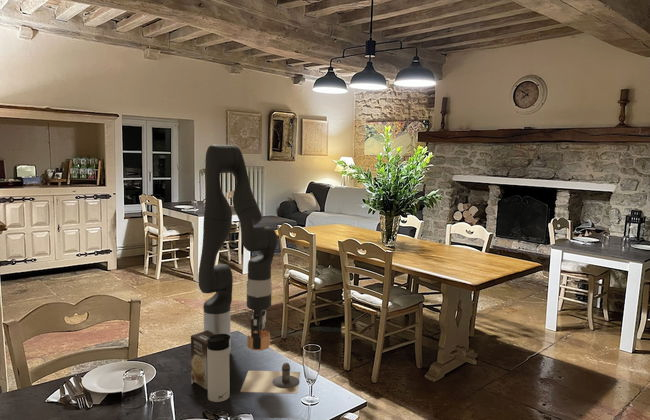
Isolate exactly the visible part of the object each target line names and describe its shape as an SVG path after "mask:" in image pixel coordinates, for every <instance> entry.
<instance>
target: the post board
mask: <svg viewBox="0 0 650 420" xmlns="http://www.w3.org/2000/svg"><path fill="white" fill-rule="evenodd" d="M281 366H282V367H281V370H279V371H276V370H272V371H271V370H248V371H247V373H246V376H245V378H244V381H243V383H242V386H241V388H240V390H239V393H264V394H265V393H266V394H268V393H269V394H295V395H296V394H297V393H298V390H299V384H300V377H301V371H291V365H290V363H288V362H283V364H282V365H281Z"/></svg>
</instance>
